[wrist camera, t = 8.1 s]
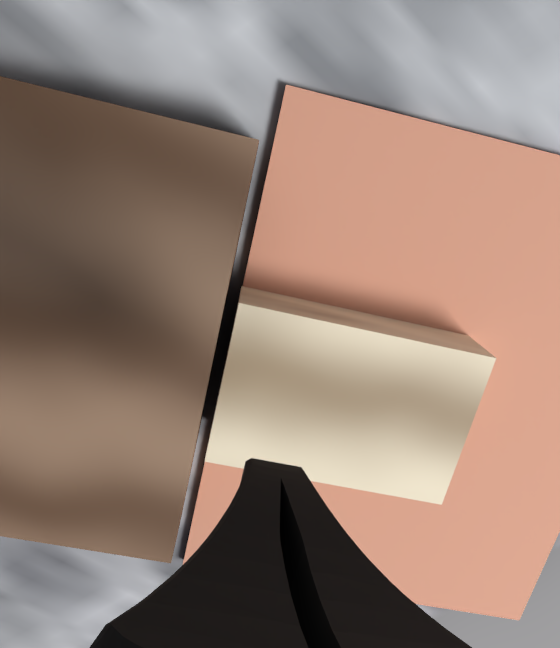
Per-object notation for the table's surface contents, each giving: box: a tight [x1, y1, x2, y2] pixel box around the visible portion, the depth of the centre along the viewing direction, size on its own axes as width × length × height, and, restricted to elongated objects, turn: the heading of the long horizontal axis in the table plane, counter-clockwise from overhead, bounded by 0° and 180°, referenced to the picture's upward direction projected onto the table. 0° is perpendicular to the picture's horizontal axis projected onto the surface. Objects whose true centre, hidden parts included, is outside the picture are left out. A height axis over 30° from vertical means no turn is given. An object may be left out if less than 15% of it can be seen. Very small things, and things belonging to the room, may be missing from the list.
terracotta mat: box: [183, 85, 560, 620], centre depth 21 cm, size 20×16×1 cm
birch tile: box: [204, 286, 496, 505], centre depth 19 cm, size 6×9×2 cm, turn 77°
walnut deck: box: [0, 76, 259, 563], centre depth 19 cm, size 16×13×2 cm
